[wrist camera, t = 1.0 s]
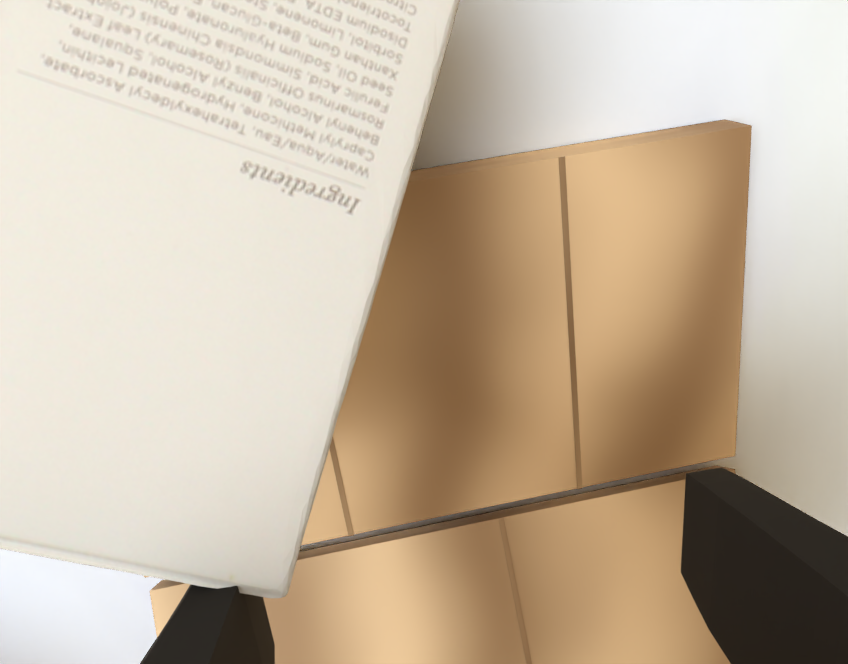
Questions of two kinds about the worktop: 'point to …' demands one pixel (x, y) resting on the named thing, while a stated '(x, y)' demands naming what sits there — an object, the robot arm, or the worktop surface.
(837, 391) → the worktop surface
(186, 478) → the small box
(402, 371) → the laid board
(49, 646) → the worktop surface
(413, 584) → the plank
